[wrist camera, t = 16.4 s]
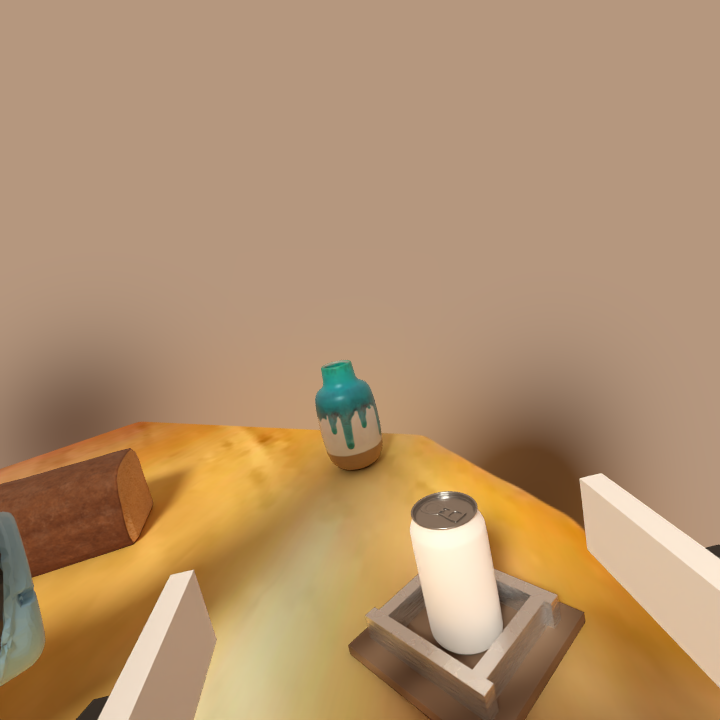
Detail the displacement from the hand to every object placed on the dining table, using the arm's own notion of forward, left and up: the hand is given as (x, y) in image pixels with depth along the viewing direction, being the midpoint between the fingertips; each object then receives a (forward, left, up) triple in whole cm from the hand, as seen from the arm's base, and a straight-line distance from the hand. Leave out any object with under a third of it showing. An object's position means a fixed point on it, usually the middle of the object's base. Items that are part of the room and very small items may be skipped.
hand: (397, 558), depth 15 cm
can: (-13, +17, -24) cm, 32 cm away
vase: (-51, +36, -25) cm, 67 cm away
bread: (-80, -13, -25) cm, 85 cm away
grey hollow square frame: (-14, +16, -24) cm, 32 cm away
